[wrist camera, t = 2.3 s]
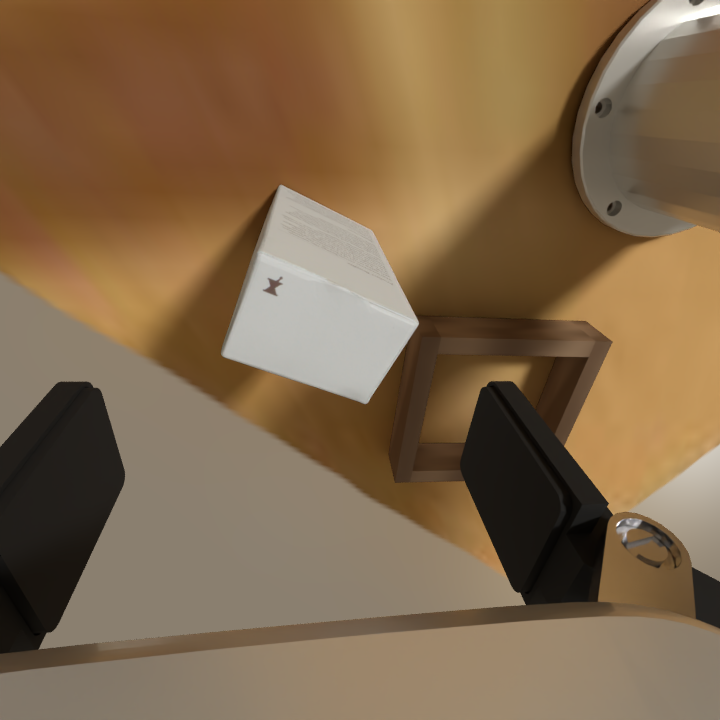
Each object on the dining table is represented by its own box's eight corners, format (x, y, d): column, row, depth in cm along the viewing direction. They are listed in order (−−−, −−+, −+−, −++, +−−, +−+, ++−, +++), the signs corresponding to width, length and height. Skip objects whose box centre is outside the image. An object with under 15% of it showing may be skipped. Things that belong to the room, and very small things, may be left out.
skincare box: (253, 251, 24) (212, 357, 14) (279, 181, 22) (255, 244, 12) (345, 292, 26) (367, 410, 16) (376, 230, 24) (424, 320, 14)
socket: (586, 321, 29) (612, 341, 27) (531, 452, 36) (548, 478, 33) (411, 315, 27) (422, 336, 25) (388, 454, 34) (394, 482, 32)
